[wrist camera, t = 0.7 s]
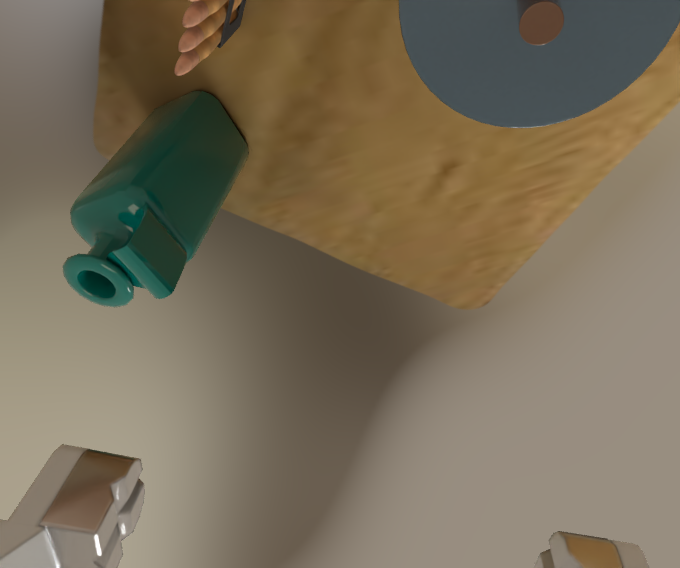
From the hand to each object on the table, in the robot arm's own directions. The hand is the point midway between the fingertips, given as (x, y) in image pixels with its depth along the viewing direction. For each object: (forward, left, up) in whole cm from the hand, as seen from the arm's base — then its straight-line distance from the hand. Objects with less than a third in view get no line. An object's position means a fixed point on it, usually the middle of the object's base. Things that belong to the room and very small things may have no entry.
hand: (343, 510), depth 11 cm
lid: (-5, +3, -33) cm, 34 cm away
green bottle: (+27, +7, -42) cm, 50 cm away
